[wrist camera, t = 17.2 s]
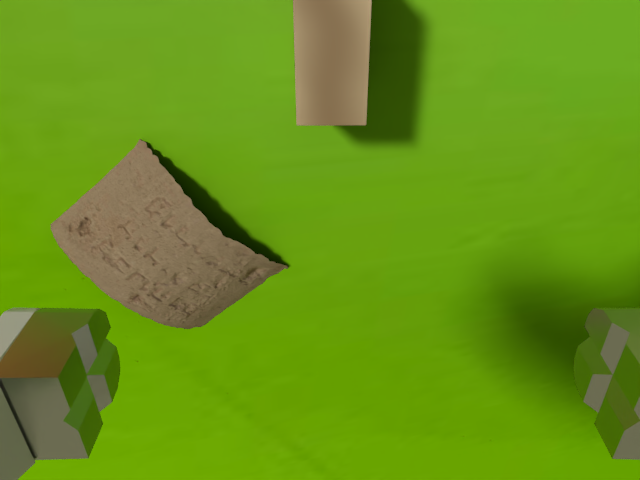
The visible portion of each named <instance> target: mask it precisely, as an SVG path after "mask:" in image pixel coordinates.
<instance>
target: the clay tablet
mask: <svg viewBox="0 0 640 480" xmlns="http://www.w3.org/2000/svg"><path fill="white" fill-rule="evenodd" d="M51 230H52V232H53V236H54V238H55V239H56V241H57V243H58V245H59V247H60V248H62V249H63V251H64V253H65V254H67V255H68V257H69V258H70V260H71V261H72V262H73V263H74V264H76V265H77V267H78V268H79V270H80V271H81V272H82V273H83V274H85V275H86V276H87V277H89V278H90V279H91V280H92V281H93V282H94V283H95V284H96V285H97V286H98V287H99V288H100V289H101V290H102V291H103V292H105V293H106V294H107V295H109V296H110V297H111V298H113V299H115V300H117V301H119V302H120V303H121V304H123V305H124V306H125V307H127V308H129V309H131V310H133V311H134V312H137V313H139V314H140V315H141V316H143V317H146V318H150V319H152V320H154V321H155V322H158V323H161V324H164V325H168V326H171V327H177V328H184V329H191V328H193V327H201V326H203V325H205V324H206V323H208V322H209V321H210V320H211V319H212V318H214V317H215V316H216V315H218V314H220V313H221V312H222V311H223V310H225V309H226V308H227V307H229V306H231V305H232V304H234V303H235V302H236V301H238V300H239V299H241V298H242V297H244V296H245V295H246V294H247V293H249V292H250V291H252V290H253V289H255V288H256V287H257V286H259V285H260V284H262V283H263V282H264V281H265V280H266V279H267V278H268V277H270V276H272V275H274V274H277V273H279V272H280V271H281V270H283V269H284V268H286V269H288V267H287V266H286V265H283V264H279V263H275V262H272V261H269V259H268V258H266V257H264V256H263V255H261V254H255V253H254V252H253V251H252V250H251V249H250V248H248V247H246V246H245V245H243V244H241V243H239V242H238V241H234V240H232V239H230V238H226V237H225V236H223V235H222V232H221V231H220V230H219V229H218V228H216V227H214V226H213V225H212V224H211V223H209V222H208V220H207V218H206V217H205V215H204V214H203V213H202V212H201V211H199V210H198V209H197V208H195V207H194V206H193V204H192V201H191V198H189V197H188V196H187V195H185V194H184V193H183V190H182V188H181V186H180V185H179V184H177V183H176V182H175V179H174V178H173V177H172V176H171V175H170V174H169V173H168V171H167V170H166V168H165V167H163V166H162V165H161V164H160V163H159V159H158V157H157V156H156V155H152V150H151V149H149V148H147V144H146V142H144V141H141V139H140V140H139V141H138V143H137V145H136V146H135V148H134V149H133V150H131V151H130V152H129V153H128V154H127V155H126V156H125V157H124V159H123V160H121V161H120V162H119V163H118V165H116V166H115V167H114V168H113V169H112V170H111V171H110V172H109V173H108V174H107V175H106V176H105V177H104V178H103V179H102V180H101V181H100V182H98V183H97V184H96V185H95V186H94V187H93V188H92V189H90V190H89V191H88V192H87V193H86V194H85V195H83V196H82V197H81V198H80V199H79V200H78V201H77V202H76V203H75V204H74V205H72V206H71V207H70V208H69V209H68V210H67V211H66V212H64V213H63V214H62V215H61V216H60V217H59V218H58V219H57V220H55V221H54V222H53V223H52V224H51Z"/></svg>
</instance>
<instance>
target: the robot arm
mask: <svg viewBox="0 0 640 480" xmlns="http://www.w3.org/2000/svg"><path fill="white" fill-rule="evenodd" d="M584 327H585V329H586V330H587V332H588V334H589V335H590V337H589V338H587V339H586V340H585V341H584V342H582V343H581V344H580V345H579V346H578V347H577V350H576V354H575V357H574V361H573V364H574V379H575V383H576V386H577V390H578V392H579V394H580V396H581V398H582V400H583V402H585V403H586V404H587V405H589V406H590V407H591V408H593V409H594V410H595V411H597V412H598V415H597V418H596V421H595V423H594V424H595V426H596V428H597V430H598V432H599V434H600V436H601V437H602V439H603V441H604V443H605V445H606V447H607V449H608V451H609V453H610V455H611V457H612V459H640V308H594V309H593V310H592V311H591V312H590V313H589V314H588V317H587V320H586V323H585V325H584ZM110 328H111V327H110V324H109V321H108V318H107V315H106V312H104V311H102V310H101V309H74V308H41V309H40V308H11V309H9V310H7V311H5V312H4V313H3V314H2V315H1V316H0V480H17V479H18V478H19V477H20V476H22V475H23V474H24V473H25V472H26V471H27V470H28V469H29V468H30V467H31V466H32V465H33V464H34V463H35V460H44V459H80V458H89V456H90V453H91V451H92V449H93V446H94V444H95V441H96V439H97V437H98V434H99V432H100V430H101V427H102V425H103V422H102V419H101V416H100V413H99V412H100V411H101V410H102V409H104V408H105V407H106V406H107V405H109V404H110V403H111V402H112V401H113V398H114V396H115V393H116V391H117V388H118V382H119V376H120V361H119V355H118V351H117V347H116V346H115V345H113V344H112V343H111V342H110V341H109V340H107V339H106V336H107V334H108V332H109V330H110Z"/></svg>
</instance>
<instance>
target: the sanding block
mask: <svg viewBox="0 0 640 480" xmlns="http://www.w3.org/2000/svg"><path fill="white" fill-rule="evenodd" d="M371 5H372V0H293V12H294V47H295V83H296V118H297V125H366V120H367V97H368V74H369V51H370V28H371Z"/></svg>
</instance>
